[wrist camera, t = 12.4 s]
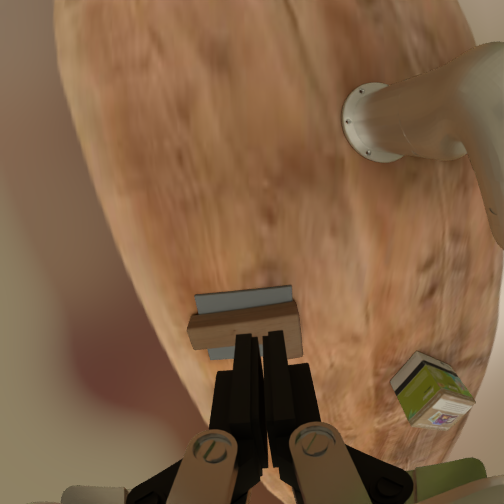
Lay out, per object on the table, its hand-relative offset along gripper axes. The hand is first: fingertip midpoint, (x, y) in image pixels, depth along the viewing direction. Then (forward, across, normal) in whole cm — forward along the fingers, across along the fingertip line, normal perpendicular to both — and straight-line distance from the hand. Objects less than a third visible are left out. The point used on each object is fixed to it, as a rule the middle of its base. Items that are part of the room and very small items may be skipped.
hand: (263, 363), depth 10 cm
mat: (+35, +4, +22) cm, 42 cm away
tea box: (+35, -34, +43) cm, 65 cm away
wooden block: (+32, -5, +22) cm, 39 cm away
